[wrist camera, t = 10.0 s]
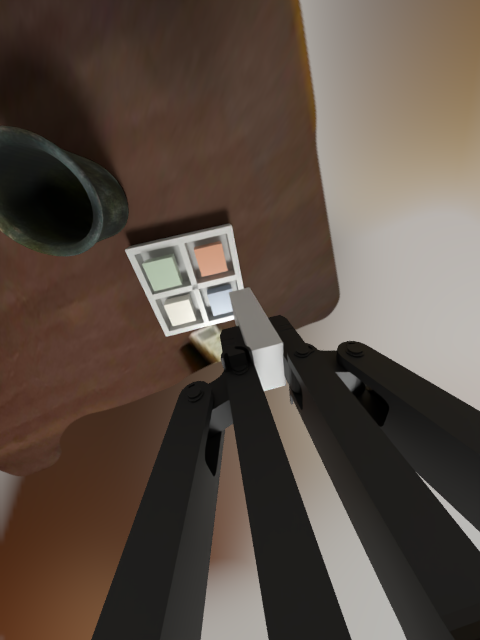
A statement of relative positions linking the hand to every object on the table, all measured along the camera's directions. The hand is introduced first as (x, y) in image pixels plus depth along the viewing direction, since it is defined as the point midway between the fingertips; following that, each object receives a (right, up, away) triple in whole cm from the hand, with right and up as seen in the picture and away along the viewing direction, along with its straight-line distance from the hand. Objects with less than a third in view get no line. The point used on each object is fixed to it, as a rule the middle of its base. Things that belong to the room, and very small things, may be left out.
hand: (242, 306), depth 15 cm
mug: (-24, +18, +15) cm, 33 cm away
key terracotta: (-5, +10, +22) cm, 25 cm away
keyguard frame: (-9, +7, +24) cm, 27 cm away
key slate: (-4, +4, +26) cm, 26 cm away
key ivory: (-12, +2, +25) cm, 28 cm away
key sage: (-13, +8, +20) cm, 25 cm away
